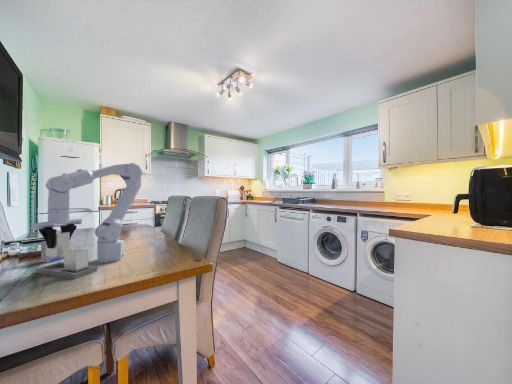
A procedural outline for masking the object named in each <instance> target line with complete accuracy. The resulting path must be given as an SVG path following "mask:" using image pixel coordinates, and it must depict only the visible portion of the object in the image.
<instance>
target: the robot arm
mask: <svg viewBox="0 0 512 384" xmlns="http://www.w3.org/2000/svg"><path fill="white" fill-rule="evenodd" d="M110 175H114V176H115V175H116V176H120V178H122V180H123V181H124V182H125V185H126V186H125V188H124V190H123V191H122V193H121V195H120V196H119V198H118V200H117V201H116V203H115V205H114V207H113V208H112V210H111V211H110V213H109V216H108V217H106V218H105V219H103V221H102V223H101V224H99V225H98V226H97V227H96V228H95V231H94V234H95V236H96V237H97V238H98V239H97V243H96V246H97V247H96V254H97V255H96V262H97V263H107V262H108V263H109V262H116V261H121V260H123V258H124V257H125V241H124V239H119V237H120V236H121V232H122V231H121V230H122V228H123V220H124V218H125V216H126V214H127V212H129V208H130V207H131V205H132V203H133V202H134V200H135V198H136V196H137V194H138V192H139V191H140V189H141V187H142V175H143V169H142V167H141V166H140V165H139V163H137V162H131V163H121V164H113V165H109V166H105V167H103V168H99V169H96V170H91V171H90V170H88V169H82V168H78V169H76V171H74V172H70V173H66V172H64V173H61V175H58V176H51V177H50V178H49V179H48V180H47V182H46V183H45V187H46V188H47V190H48V196H47V221H43V222H36V223H31V226H30V229H31V231H38V232H39V233H40V235H42V237H43V239H44V241H46V244H47V248H51V249H52V248H54V240H55V234H56V232H58V231H57V230H58V229H56V228H57V227H58V228H60V231H61V232H70V239H71V238H72V236H73V233H75V230H77V228H78V227H77V225H82V223H83V222H82V218H73V219H70V199H71V198H70V197H71V196H70V190H72V189H76V188H79V187H82V186H86V185H90V184H93V183H94V180H96V179H100V178H104V177H107V176H110Z"/></svg>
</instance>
